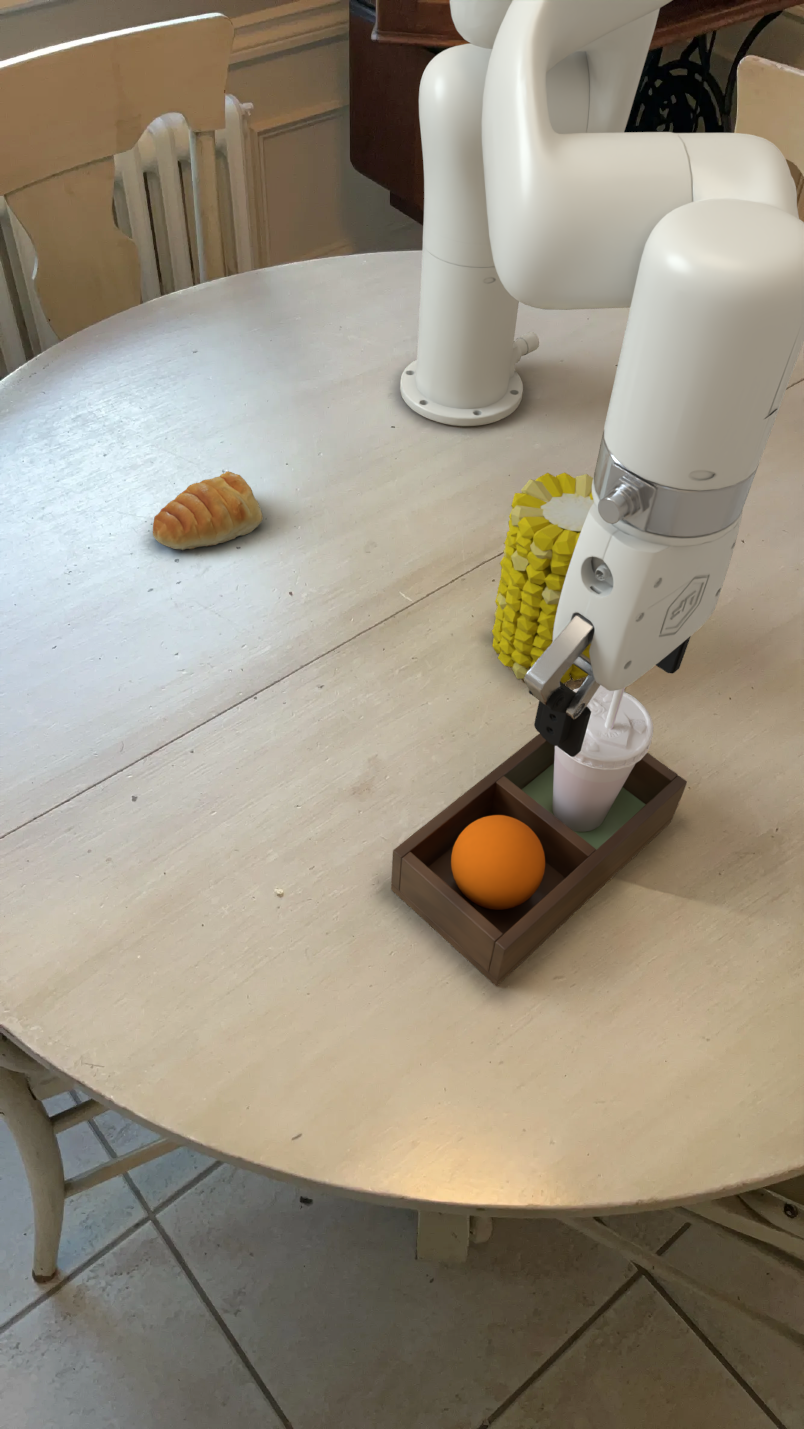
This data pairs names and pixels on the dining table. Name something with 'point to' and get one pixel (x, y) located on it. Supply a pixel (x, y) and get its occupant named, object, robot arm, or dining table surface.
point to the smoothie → (600, 759)
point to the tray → (569, 855)
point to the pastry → (208, 513)
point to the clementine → (498, 862)
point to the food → (538, 568)
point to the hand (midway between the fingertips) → (607, 699)
